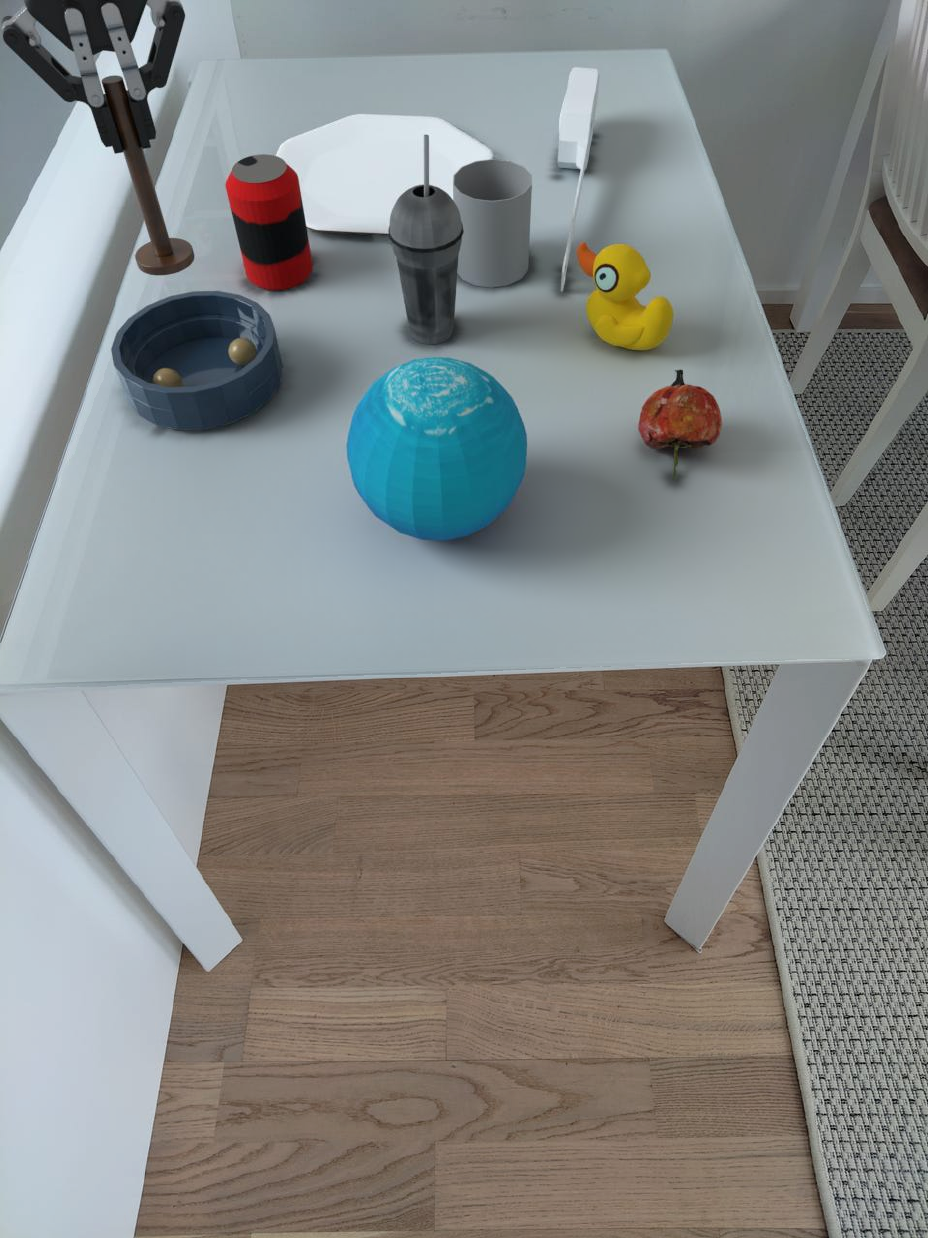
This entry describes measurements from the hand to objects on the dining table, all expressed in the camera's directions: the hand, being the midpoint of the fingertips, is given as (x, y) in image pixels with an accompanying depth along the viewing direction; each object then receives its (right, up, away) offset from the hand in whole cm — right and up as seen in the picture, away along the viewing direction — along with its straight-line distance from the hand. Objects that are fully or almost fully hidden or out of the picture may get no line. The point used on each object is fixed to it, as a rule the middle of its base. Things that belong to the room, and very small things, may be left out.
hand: (132, 145), depth 74 cm
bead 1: (-2, -15, +17) cm, 22 cm away
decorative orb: (+25, -29, +9) cm, 39 cm away
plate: (+16, +17, +42) cm, 48 cm away
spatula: (+39, +13, +38) cm, 56 cm away
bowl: (0, -14, +20) cm, 24 cm away
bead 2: (+4, -11, +19) cm, 22 cm away
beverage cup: (+23, -8, +24) cm, 34 cm away
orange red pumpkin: (+46, -22, +13) cm, 53 cm away
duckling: (+43, -9, +23) cm, 49 cm away
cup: (+30, +2, +31) cm, 43 cm away
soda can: (+6, +1, +31) cm, 31 cm away
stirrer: (0, -6, +8) cm, 10 cm away
